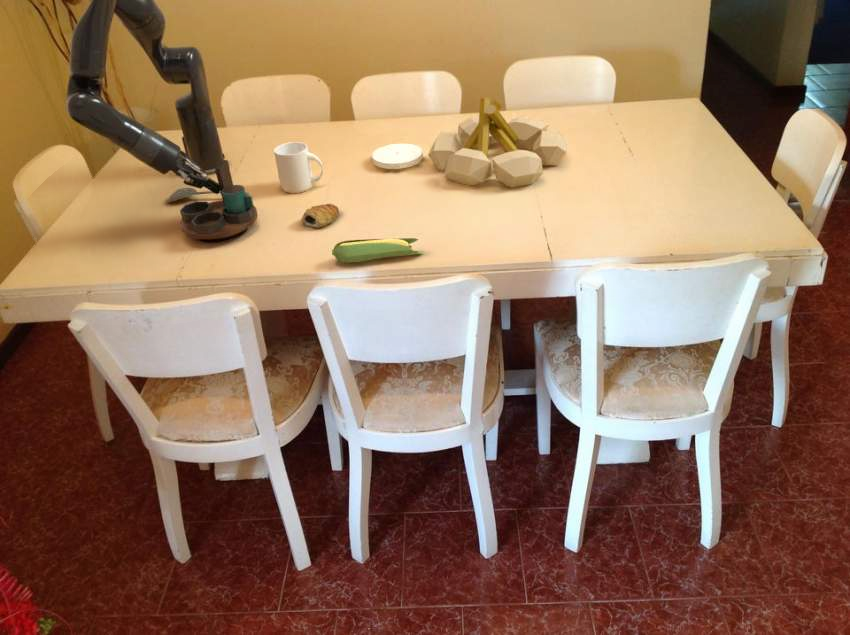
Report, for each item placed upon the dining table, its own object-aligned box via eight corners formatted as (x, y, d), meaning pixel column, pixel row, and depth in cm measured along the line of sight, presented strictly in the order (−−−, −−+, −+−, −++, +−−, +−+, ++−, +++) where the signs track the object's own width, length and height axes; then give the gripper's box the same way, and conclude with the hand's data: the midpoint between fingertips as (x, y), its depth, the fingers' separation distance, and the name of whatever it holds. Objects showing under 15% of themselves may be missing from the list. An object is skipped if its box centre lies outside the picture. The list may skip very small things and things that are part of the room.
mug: (321, 194, 188) (315, 154, 182) (277, 194, 190) (269, 155, 184) (330, 179, 195) (324, 141, 189) (287, 180, 197) (279, 142, 191)
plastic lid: (413, 174, 195) (412, 165, 193) (365, 170, 199) (363, 161, 197) (430, 153, 205) (429, 145, 204) (383, 150, 209) (382, 142, 208)
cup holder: (242, 240, 166) (231, 194, 159) (168, 238, 169) (154, 194, 163) (270, 202, 181) (261, 159, 175) (201, 201, 184) (190, 160, 178)
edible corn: (334, 256, 161) (331, 238, 159) (424, 248, 162) (423, 229, 159) (333, 268, 157) (330, 250, 154) (426, 259, 157) (424, 241, 155)
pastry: (325, 209, 181) (323, 194, 179) (346, 214, 178) (344, 200, 176) (300, 224, 175) (297, 210, 173) (321, 231, 172) (318, 216, 169)
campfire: (479, 131, 217) (477, 73, 207) (584, 150, 199) (588, 88, 189) (408, 175, 194) (402, 112, 184) (520, 201, 177) (520, 134, 167)
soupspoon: (175, 195, 195) (165, 208, 190) (171, 184, 193) (161, 196, 188) (253, 191, 192) (246, 204, 187) (250, 180, 190) (242, 192, 185)
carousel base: (182, 236, 174) (180, 229, 173) (220, 213, 183) (218, 206, 182) (223, 247, 169) (221, 239, 167) (260, 222, 178) (258, 215, 176)
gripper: (163, 146, 161) (231, 188, 171) (162, 127, 172) (226, 168, 182) (145, 173, 163) (212, 213, 173) (145, 153, 174) (209, 191, 183)
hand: (219, 190), depth 177 cm, fingers closed
